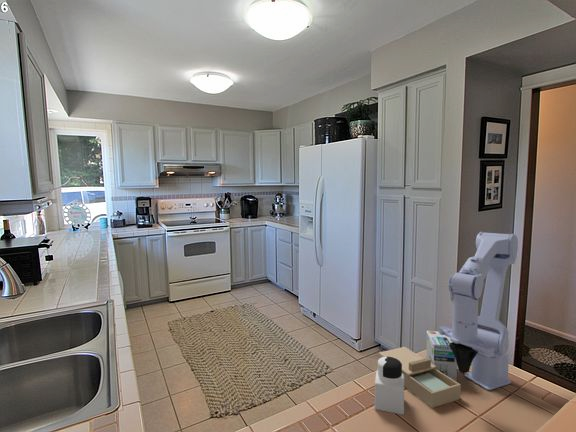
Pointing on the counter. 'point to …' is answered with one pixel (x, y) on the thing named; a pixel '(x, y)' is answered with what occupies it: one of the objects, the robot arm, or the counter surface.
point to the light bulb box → (441, 354)
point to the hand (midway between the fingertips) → (463, 371)
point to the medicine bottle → (389, 386)
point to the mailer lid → (409, 360)
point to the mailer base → (433, 395)
